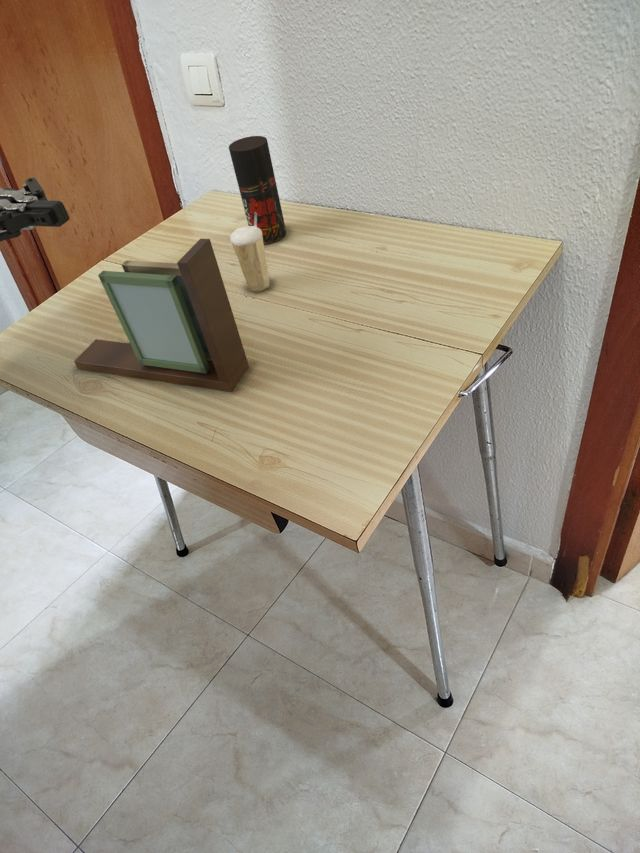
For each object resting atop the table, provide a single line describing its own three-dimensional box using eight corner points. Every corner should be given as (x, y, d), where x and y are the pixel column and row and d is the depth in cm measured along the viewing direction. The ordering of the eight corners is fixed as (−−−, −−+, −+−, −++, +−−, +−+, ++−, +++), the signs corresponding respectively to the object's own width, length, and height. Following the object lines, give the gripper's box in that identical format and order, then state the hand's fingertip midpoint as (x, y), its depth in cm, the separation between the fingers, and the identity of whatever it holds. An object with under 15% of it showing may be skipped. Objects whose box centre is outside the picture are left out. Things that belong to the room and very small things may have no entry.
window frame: (78, 369, 80) (11, 252, 68) (99, 347, 83) (39, 231, 71) (231, 392, 71) (186, 263, 59) (249, 366, 74) (210, 238, 62)
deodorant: (244, 240, 99) (220, 148, 89) (268, 224, 102) (247, 134, 92) (270, 247, 96) (248, 153, 86) (293, 230, 99) (274, 137, 89)
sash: (139, 364, 75) (97, 275, 66) (144, 359, 76) (102, 270, 67) (206, 373, 72) (171, 280, 63) (210, 368, 72) (175, 275, 63)
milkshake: (283, 277, 89) (268, 214, 82) (262, 296, 86) (246, 232, 79) (259, 273, 91) (243, 211, 84) (238, 291, 88) (220, 228, 81)
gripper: (-121, 205, 61) (-1, 208, 55) (-29, 154, 70) (85, 152, 63) (-76, 269, 67) (38, 278, 60) (5, 215, 75) (113, 218, 69)
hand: (62, 213), depth 62 cm, fingers closed
